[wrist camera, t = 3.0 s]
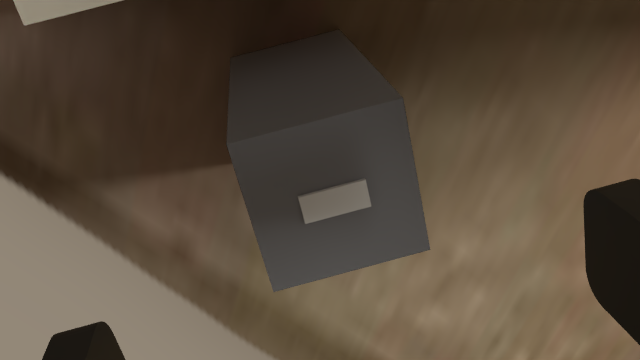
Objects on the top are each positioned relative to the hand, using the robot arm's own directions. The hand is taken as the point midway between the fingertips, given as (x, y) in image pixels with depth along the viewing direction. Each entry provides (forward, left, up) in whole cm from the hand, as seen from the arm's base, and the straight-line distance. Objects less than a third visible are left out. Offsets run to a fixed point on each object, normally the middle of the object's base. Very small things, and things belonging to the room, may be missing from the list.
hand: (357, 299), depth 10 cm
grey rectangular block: (0, 0, -13) cm, 13 cm away
